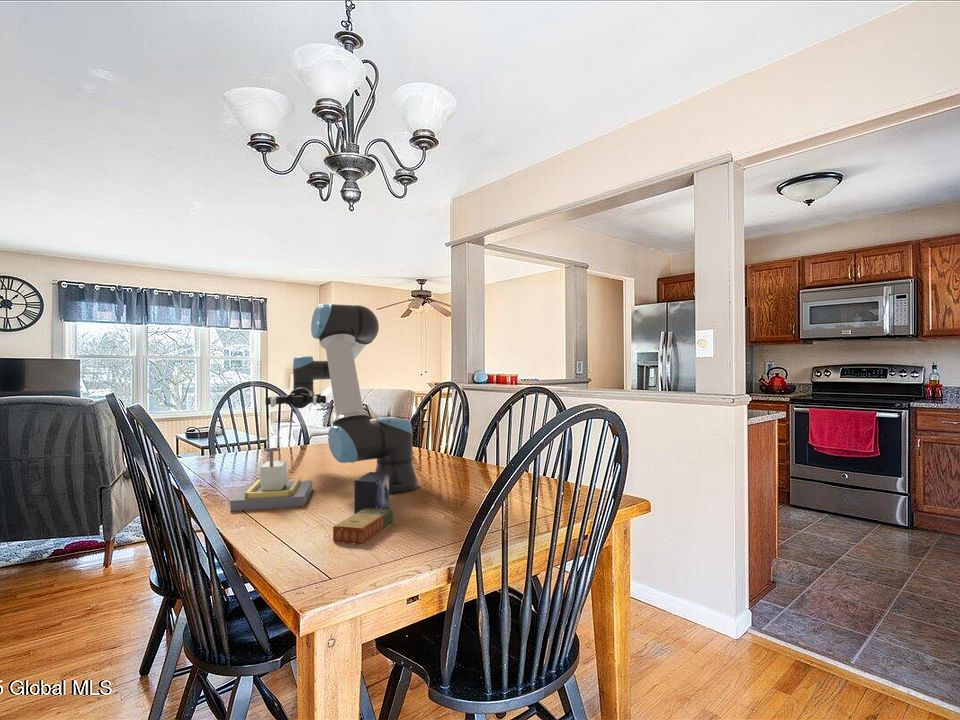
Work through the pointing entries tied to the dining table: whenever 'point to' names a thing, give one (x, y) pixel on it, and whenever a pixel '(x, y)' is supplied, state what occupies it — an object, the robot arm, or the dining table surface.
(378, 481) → the small box
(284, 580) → the dining table surface
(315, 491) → the dining table surface
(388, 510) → the carton
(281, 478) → the plunger detonator box
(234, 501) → the dock
